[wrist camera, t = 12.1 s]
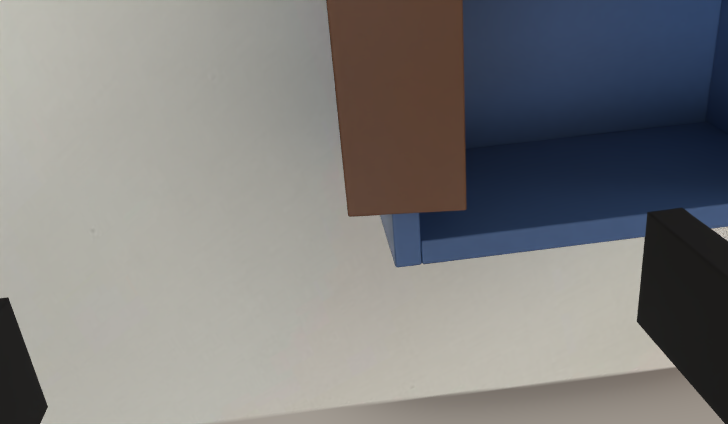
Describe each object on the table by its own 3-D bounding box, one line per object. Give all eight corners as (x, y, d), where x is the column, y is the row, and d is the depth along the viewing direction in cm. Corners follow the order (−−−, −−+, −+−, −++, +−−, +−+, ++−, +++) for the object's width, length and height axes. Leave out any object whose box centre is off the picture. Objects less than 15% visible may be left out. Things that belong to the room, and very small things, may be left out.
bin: (366, 172, 34) (395, 268, 25) (335, -198, 27) (359, -246, 18) (712, 132, 35) (856, 211, 26) (764, -233, 28) (983, -295, 19)
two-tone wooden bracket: (357, 151, 30) (348, 217, 24) (332, -131, 25) (312, -138, 19) (452, 146, 29) (466, 210, 23) (444, -141, 25) (460, -152, 19)
